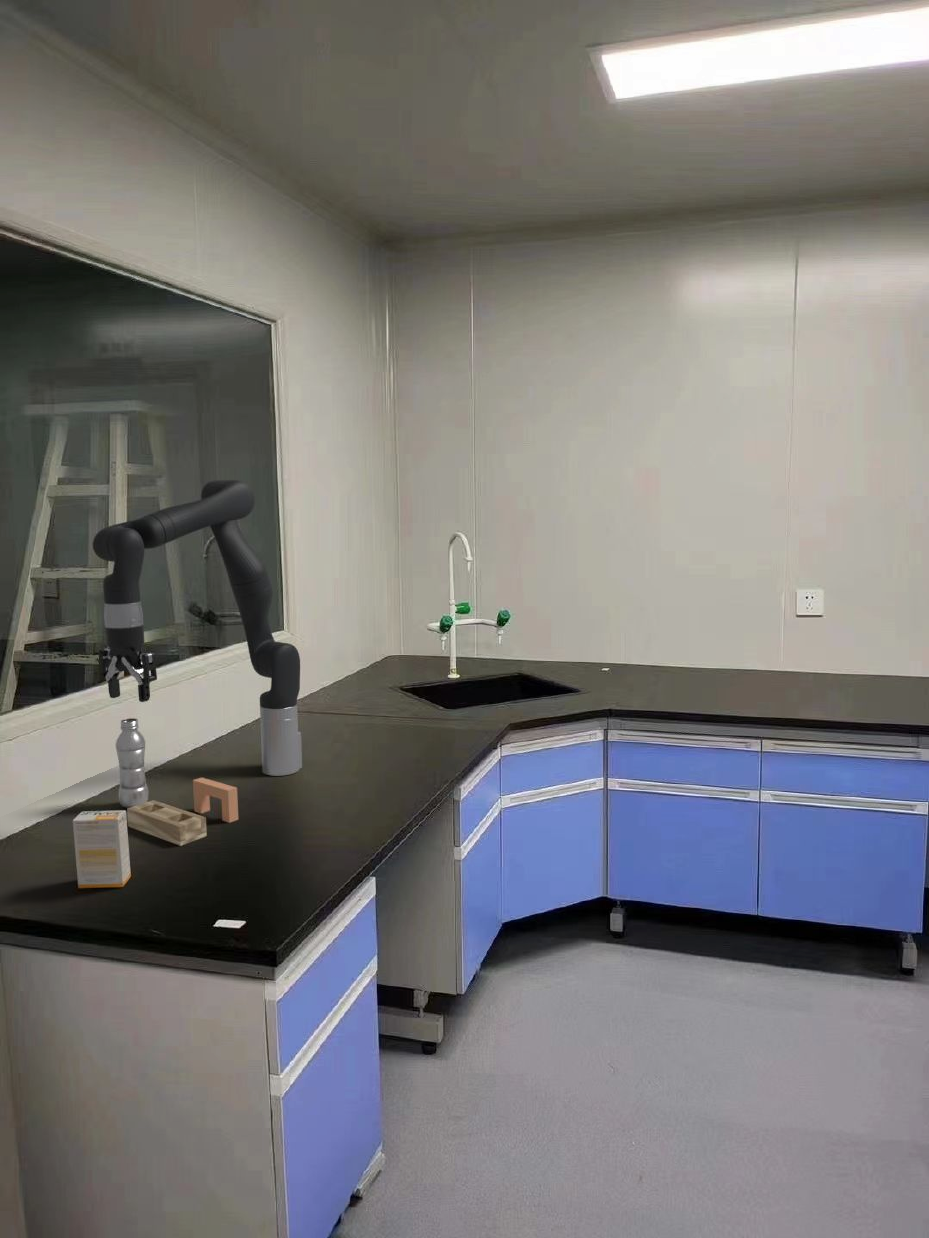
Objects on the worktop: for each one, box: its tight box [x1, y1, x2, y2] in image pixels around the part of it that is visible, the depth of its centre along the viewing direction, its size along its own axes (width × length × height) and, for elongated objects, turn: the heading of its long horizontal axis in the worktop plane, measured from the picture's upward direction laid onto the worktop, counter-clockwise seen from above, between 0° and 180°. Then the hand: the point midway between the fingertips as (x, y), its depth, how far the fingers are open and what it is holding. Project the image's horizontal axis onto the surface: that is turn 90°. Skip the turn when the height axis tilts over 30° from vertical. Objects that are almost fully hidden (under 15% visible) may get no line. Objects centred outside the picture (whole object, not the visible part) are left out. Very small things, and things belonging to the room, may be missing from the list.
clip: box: [192, 777, 239, 824], centre depth 197 cm, size 2×12×7 cm, turn 54°
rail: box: [126, 799, 207, 847], centre depth 189 cm, size 6×18×4 cm, turn 54°
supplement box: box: [72, 809, 132, 889], centre depth 163 cm, size 8×5×13 cm, turn 92°
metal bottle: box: [115, 717, 150, 809], centre depth 203 cm, size 6×7×20 cm
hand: (129, 699), depth 190 cm, fingers open, 8 cm apart
